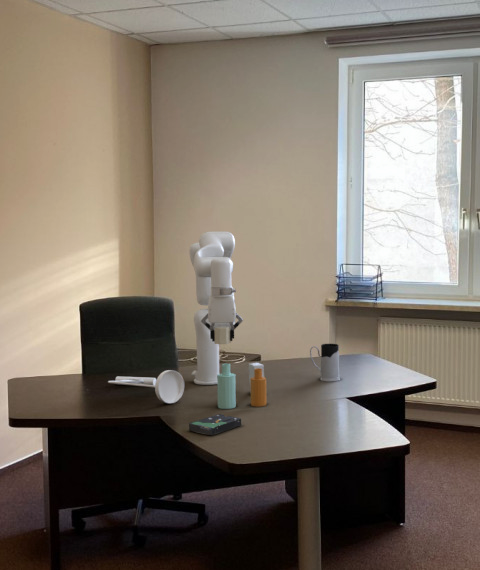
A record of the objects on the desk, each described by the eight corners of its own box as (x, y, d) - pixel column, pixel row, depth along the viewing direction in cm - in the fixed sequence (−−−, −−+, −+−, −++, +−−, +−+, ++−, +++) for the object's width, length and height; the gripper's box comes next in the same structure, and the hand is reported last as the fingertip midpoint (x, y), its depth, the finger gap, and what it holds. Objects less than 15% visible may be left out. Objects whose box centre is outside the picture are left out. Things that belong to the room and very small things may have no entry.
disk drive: (219, 421, 255) (188, 430, 243) (219, 413, 254) (188, 422, 243) (241, 426, 248) (211, 436, 236) (241, 418, 248) (211, 427, 236)
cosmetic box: (265, 395, 292) (264, 364, 291) (254, 396, 290) (254, 365, 289) (259, 391, 298) (258, 362, 297) (248, 393, 296) (248, 363, 295)
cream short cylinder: (211, 343, 271) (210, 327, 271) (221, 341, 276) (221, 325, 275) (223, 344, 268) (222, 328, 267) (233, 342, 273) (233, 326, 272)
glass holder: (334, 382, 314) (333, 347, 313) (305, 378, 321) (305, 344, 320) (343, 378, 321) (343, 344, 320) (315, 375, 329) (315, 341, 328)
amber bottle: (247, 405, 276) (247, 369, 275) (257, 402, 281) (256, 367, 280) (260, 407, 273) (259, 371, 272) (269, 404, 278) (269, 368, 276)
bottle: (214, 407, 273) (213, 364, 272) (225, 403, 279) (225, 361, 277) (227, 409, 270) (227, 366, 268) (239, 406, 275) (238, 363, 274)
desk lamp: (204, 370, 292) (137, 365, 322) (159, 370, 275) (92, 365, 306) (203, 401, 291) (135, 394, 321) (157, 404, 274) (90, 395, 305)
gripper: (245, 290, 275) (245, 338, 276) (198, 291, 274) (199, 339, 275) (245, 292, 267) (246, 341, 269) (197, 293, 266) (198, 342, 268)
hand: (222, 340), depth 272 cm, fingers closed on cream short cylinder, 6 cm apart
